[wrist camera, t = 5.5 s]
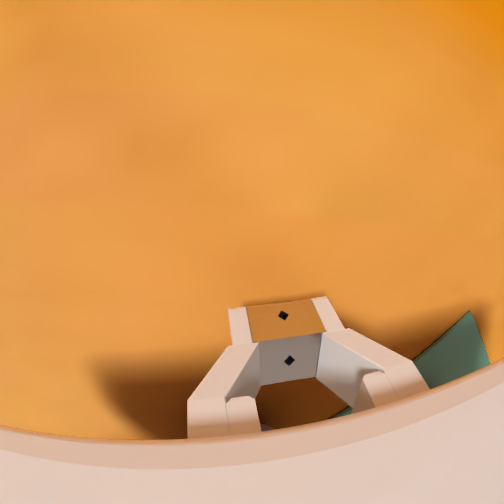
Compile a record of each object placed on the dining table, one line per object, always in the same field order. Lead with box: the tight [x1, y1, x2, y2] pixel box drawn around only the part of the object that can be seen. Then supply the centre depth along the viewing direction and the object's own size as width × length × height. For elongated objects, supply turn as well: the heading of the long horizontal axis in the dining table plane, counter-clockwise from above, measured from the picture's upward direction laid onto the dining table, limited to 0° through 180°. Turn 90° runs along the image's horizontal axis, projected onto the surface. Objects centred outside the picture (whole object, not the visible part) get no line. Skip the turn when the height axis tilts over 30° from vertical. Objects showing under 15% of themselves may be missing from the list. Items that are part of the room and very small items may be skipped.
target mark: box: [331, 311, 490, 419], centre depth 18 cm, size 12×12×1 cm
